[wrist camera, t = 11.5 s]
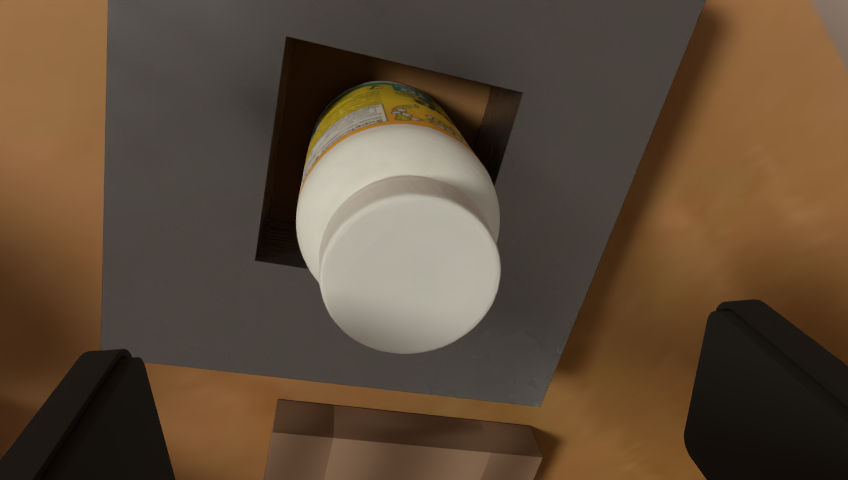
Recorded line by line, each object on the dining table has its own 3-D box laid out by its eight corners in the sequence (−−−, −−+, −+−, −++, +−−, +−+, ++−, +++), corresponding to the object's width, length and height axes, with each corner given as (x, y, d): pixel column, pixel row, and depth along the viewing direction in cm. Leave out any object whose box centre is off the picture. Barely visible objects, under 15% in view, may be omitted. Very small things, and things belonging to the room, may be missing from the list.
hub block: (657, -29, 19) (717, -29, 16) (516, 353, 25) (540, 406, 22) (159, -180, 16) (112, -217, 13) (135, 302, 22) (100, 357, 19)
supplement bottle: (279, 129, 20) (228, 247, 11) (409, 47, 19) (459, 106, 11) (362, 244, 22) (372, 415, 14) (481, 174, 22) (569, 307, 13)
